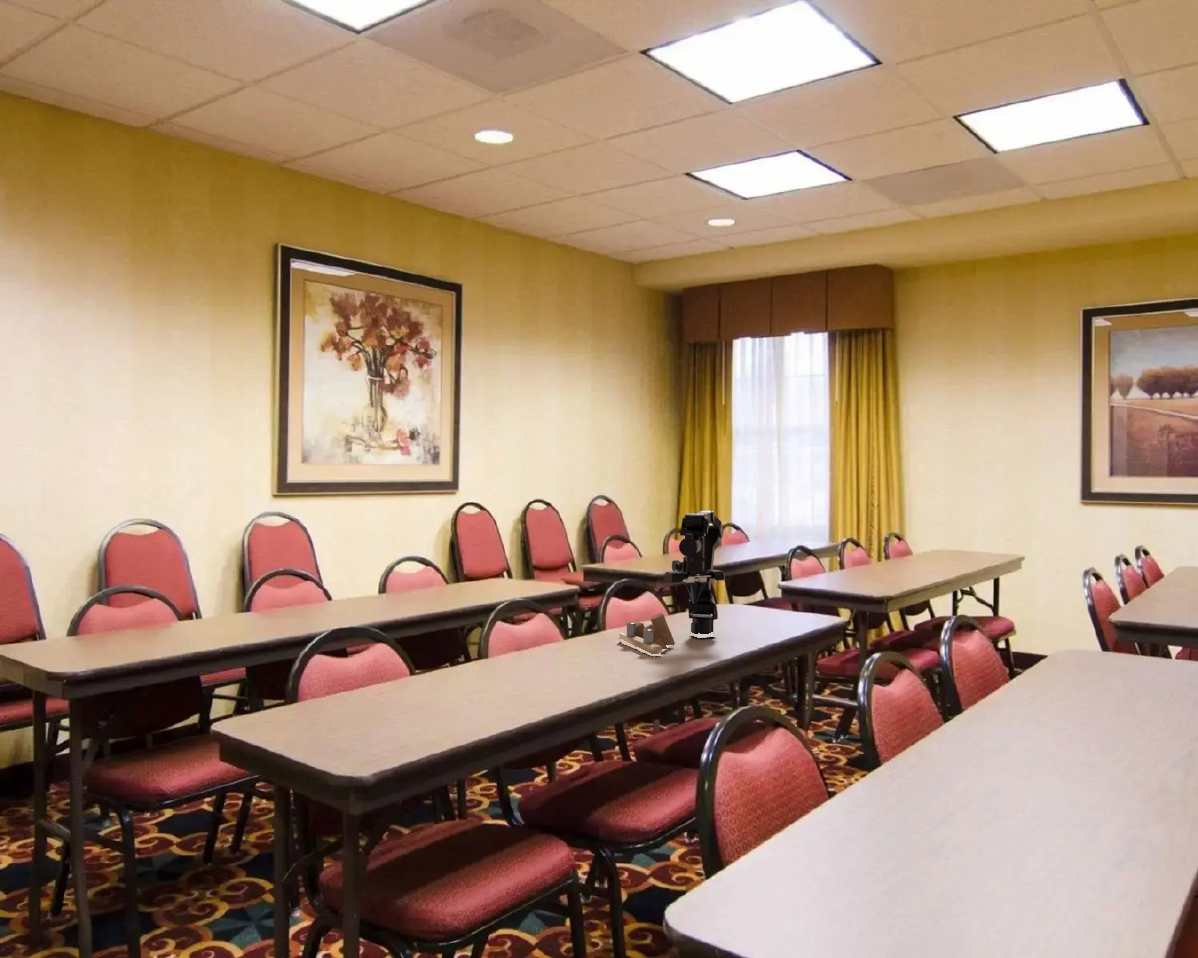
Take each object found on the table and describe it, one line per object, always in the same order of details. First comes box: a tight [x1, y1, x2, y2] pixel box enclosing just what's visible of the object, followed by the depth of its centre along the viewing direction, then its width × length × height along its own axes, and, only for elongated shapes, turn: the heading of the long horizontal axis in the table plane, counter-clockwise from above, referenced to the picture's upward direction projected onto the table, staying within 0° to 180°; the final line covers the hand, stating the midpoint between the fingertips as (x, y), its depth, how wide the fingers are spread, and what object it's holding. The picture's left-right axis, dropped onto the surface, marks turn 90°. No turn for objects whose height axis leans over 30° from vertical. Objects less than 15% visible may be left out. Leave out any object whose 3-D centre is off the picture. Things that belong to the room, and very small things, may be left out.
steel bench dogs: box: [626, 622, 653, 644], centre depth 281 cm, size 3×15×7 cm, turn 23°
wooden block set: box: [636, 613, 676, 650], centre depth 284 cm, size 18×9×10 cm, turn 24°
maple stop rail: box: [618, 632, 663, 654], centre depth 281 cm, size 3×24×3 cm, turn 23°
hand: (694, 603), depth 289 cm, fingers closed
